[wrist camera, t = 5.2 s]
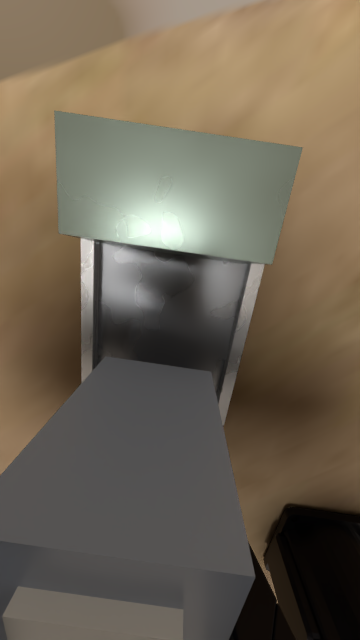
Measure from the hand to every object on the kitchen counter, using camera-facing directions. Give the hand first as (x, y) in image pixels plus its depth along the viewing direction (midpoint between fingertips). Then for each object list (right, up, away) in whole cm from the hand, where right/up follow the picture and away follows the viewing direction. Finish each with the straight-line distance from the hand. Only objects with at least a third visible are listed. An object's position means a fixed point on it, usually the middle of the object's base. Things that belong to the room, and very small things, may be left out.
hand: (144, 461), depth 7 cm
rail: (0, +1, +4) cm, 4 cm away
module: (0, 0, +1) cm, 1 cm away
